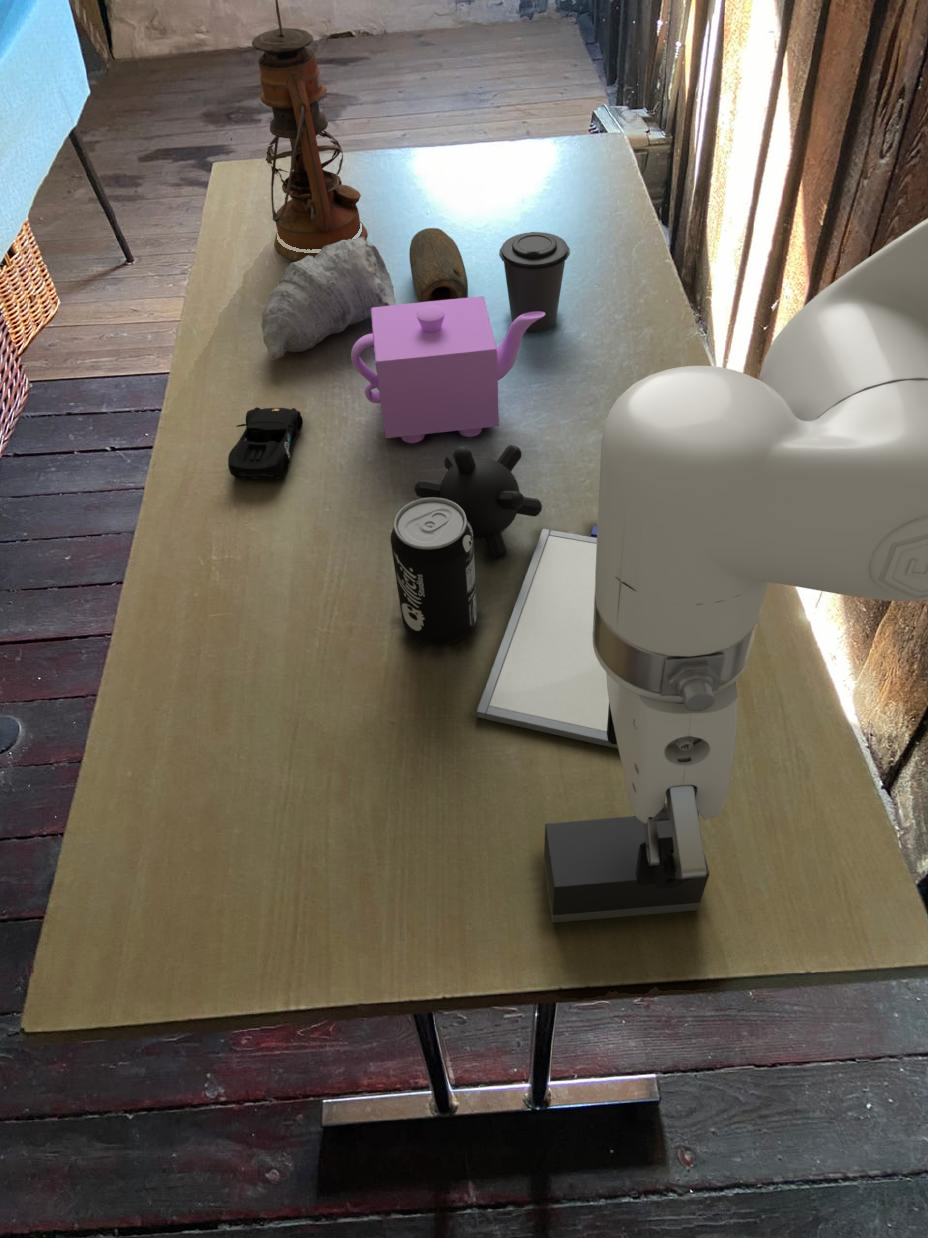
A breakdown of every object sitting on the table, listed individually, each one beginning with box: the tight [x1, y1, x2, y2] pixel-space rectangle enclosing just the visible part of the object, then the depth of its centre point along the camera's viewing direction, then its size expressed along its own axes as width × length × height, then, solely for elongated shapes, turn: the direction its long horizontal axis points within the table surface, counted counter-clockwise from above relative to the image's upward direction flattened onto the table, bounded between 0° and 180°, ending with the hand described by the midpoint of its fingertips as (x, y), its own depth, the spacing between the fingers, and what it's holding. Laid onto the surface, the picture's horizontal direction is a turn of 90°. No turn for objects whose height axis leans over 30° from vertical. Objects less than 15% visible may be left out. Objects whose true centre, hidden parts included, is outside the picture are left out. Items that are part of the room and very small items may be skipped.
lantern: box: [251, 0, 369, 262], centre depth 119 cm, size 17×13×30 cm
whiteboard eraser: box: [543, 815, 710, 924], centre depth 63 cm, size 10×5×6 cm, turn 94°
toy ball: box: [414, 444, 543, 560], centre depth 86 cm, size 11×11×12 cm
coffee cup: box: [498, 231, 571, 334], centre depth 110 cm, size 8×8×10 cm
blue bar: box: [590, 525, 598, 538], centre depth 88 cm, size 5×1×1 cm, turn 73°
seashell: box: [261, 237, 397, 361], centre depth 110 cm, size 16×15×10 cm
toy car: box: [227, 407, 304, 481], centre depth 98 cm, size 8×12×4 cm
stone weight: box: [408, 227, 469, 303], centre depth 116 cm, size 15×7×7 cm, turn 11°
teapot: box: [350, 296, 545, 444], centre depth 97 cm, size 20×10×12 cm, turn 96°
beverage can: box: [390, 498, 478, 646], centre depth 78 cm, size 7×7×12 cm
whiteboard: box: [476, 528, 619, 750], centre depth 80 cm, size 16×22×1 cm
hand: (646, 804), depth 57 cm, fingers open, 9 cm apart
